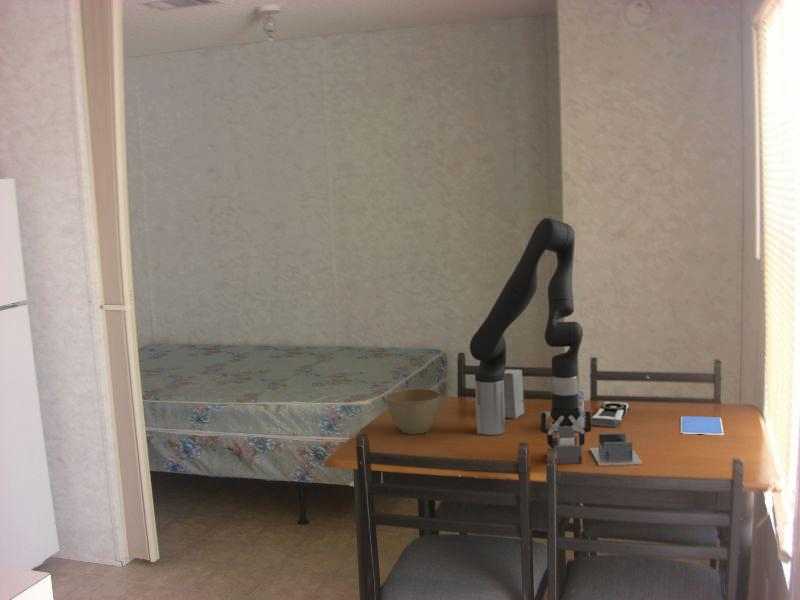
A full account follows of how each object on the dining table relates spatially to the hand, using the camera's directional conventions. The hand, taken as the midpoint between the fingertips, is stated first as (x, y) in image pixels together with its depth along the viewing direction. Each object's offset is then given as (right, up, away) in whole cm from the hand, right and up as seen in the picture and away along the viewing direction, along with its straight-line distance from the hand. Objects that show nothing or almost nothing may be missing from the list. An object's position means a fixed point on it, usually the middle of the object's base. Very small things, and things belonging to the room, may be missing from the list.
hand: (565, 446), depth 233 cm
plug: (0, -4, 0) cm, 4 cm away
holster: (0, -4, 0) cm, 4 cm away
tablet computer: (+49, +1, +25) cm, 55 cm away
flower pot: (-43, -1, +35) cm, 55 cm away
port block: (+14, -3, 0) cm, 14 cm away
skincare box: (-9, +2, +49) cm, 50 cm away
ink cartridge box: (+7, 0, +29) cm, 30 cm away
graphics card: (+24, +2, +40) cm, 47 cm away
